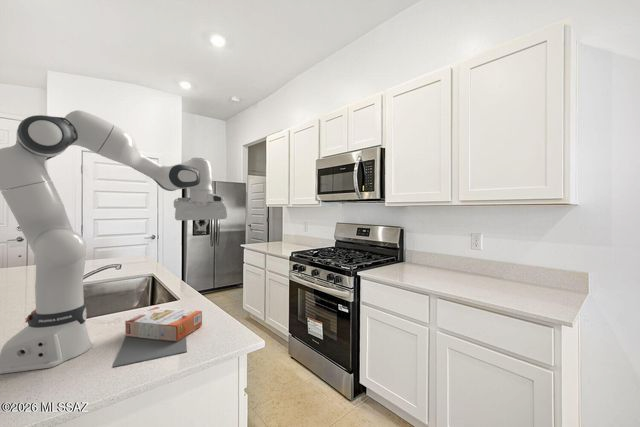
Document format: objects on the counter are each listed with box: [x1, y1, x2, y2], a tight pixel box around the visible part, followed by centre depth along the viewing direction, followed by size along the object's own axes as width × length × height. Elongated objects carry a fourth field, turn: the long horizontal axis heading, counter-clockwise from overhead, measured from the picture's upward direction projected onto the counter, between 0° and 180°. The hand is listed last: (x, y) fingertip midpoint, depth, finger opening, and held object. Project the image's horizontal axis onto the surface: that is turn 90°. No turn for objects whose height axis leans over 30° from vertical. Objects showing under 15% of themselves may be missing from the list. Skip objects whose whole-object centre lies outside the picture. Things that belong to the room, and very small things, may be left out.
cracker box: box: [124, 306, 203, 342], centre depth 104 cm, size 14×6×21 cm
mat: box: [112, 335, 188, 368], centre depth 95 cm, size 19×22×1 cm
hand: (202, 230), depth 120 cm, fingers closed
